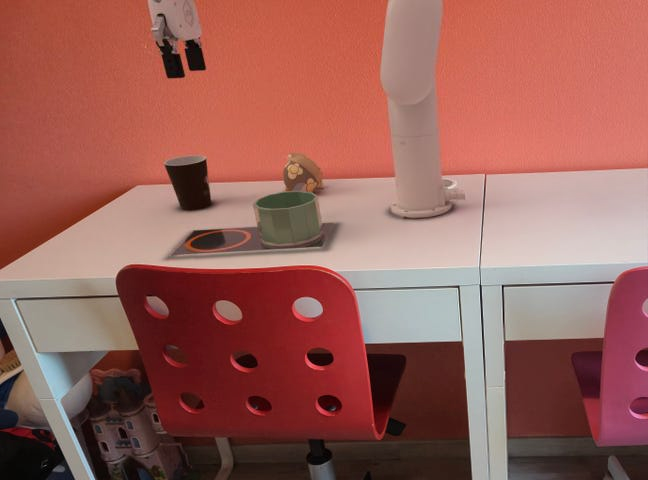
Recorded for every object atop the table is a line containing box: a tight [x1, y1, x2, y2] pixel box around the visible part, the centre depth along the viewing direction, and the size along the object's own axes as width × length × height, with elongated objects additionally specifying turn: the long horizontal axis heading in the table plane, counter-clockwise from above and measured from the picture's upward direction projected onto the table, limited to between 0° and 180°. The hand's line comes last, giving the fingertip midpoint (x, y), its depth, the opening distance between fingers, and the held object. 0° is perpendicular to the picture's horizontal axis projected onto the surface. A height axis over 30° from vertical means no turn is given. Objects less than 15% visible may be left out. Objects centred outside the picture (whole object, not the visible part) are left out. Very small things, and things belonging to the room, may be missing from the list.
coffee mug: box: [163, 155, 212, 211], centre depth 155 cm, size 12×9×10 cm
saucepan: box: [252, 183, 323, 246], centre depth 136 cm, size 11×20×7 cm, turn 2°
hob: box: [167, 222, 334, 258], centre depth 134 cm, size 28×14×1 cm, turn 92°
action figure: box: [282, 152, 324, 193], centre depth 161 cm, size 10×11×15 cm
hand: (187, 74), depth 132 cm, fingers open, 9 cm apart
